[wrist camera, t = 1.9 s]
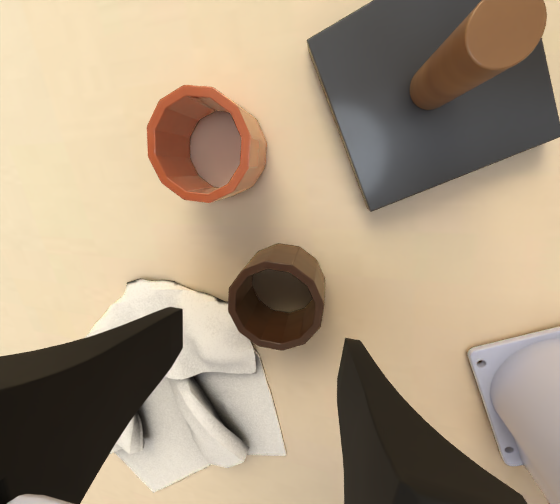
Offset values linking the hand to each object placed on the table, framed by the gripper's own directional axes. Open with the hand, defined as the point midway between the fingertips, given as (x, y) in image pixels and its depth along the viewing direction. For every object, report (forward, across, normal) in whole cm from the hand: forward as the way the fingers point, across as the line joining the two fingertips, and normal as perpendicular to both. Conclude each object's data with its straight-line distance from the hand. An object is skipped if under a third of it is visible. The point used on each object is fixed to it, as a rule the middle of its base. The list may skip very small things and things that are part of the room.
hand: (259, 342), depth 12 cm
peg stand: (+7, -6, -12) cm, 15 cm away
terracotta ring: (+7, +4, -8) cm, 11 cm away
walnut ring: (+7, 0, 0) cm, 7 cm away
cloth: (+7, +9, +12) cm, 17 cm away
